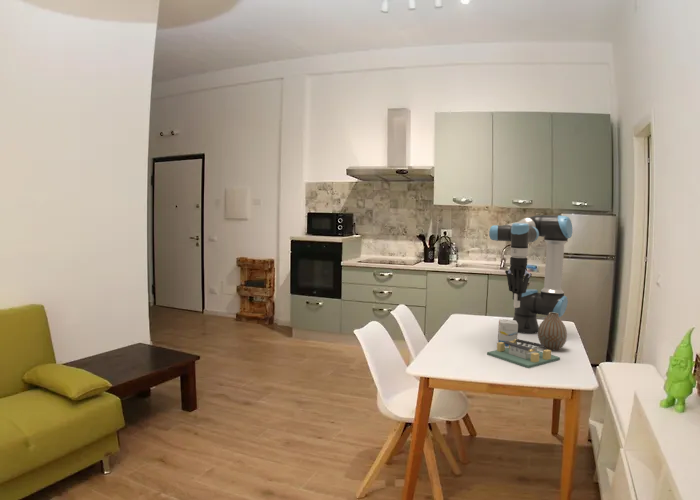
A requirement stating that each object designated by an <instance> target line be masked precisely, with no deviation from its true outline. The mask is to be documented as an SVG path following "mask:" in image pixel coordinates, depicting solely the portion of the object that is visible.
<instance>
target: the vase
mask: <svg viewBox="0 0 700 500" xmlns="http://www.w3.org/2000/svg"><path fill="white" fill-rule="evenodd" d="M538 326H539V329H538V333H537V339H538V342H539V344H543V345H544V347H543V348H544V350H547V349H548V350H551V351H559V350H560V349H561V348H563V347H564V346H565V344H566V342H567V338H568V331H567V328H566V325H565V323H564V322H563V321H562V319H561V317H559V315H558V313H554V312H549V314H548V316H547V315H546V317H545V318H544V319H543V320H542V322H541V323H540V324H539V325H538Z"/></svg>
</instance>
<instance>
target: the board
mask: <svg viewBox="0 0 700 500" xmlns="http://www.w3.org/2000/svg"><path fill="white" fill-rule="evenodd" d="M509 342H512V343H515V344H518V345H522V346H525V347H528V348H531V349H535V351H532V352H529V351H526V350H523V349H520V348H517V347H513V346H510V345H509V346H507V347H506V346H505V344H504V342H498V341H497V342H496V344H497V345H496V349H494V350H491V351H490V350H489V351H487V352H486V355H487V356H489V357H493V358H495V359H498V360H503V361H505V362H508V363H510V364H514V365H517V366H519V367H523V368H526V369H531V368H534V367H538V366H541V365H546V364H549V363H553V362H557V361H560V360H561V356H556V355H553V354H552V350H548V349H544V350H542V351H540V350H538V346H533V345H528V344H524V343H518V342H513V341H509Z"/></svg>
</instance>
